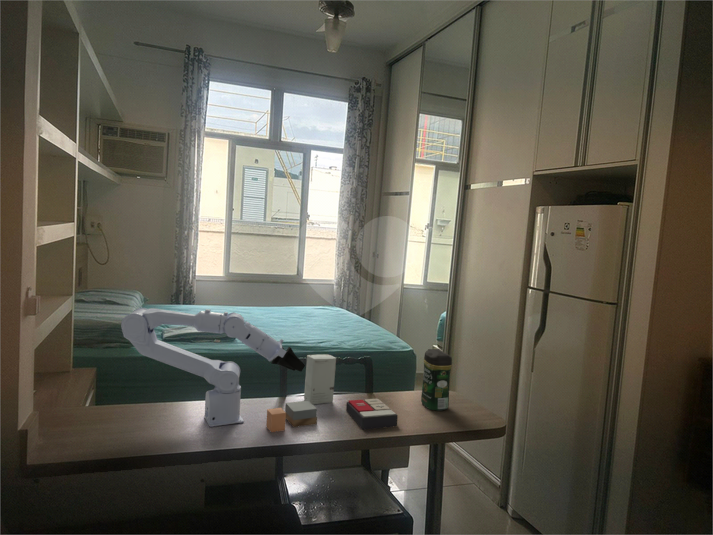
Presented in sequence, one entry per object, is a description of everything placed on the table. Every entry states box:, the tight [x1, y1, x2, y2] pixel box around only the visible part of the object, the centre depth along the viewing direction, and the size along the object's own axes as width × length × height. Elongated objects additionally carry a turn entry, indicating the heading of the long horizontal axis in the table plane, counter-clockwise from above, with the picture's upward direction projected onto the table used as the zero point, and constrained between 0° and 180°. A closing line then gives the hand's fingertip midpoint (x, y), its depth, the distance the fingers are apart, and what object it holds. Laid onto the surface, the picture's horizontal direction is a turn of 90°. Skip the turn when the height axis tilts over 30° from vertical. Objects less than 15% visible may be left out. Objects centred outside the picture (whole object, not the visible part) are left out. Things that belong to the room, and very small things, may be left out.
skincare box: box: [303, 354, 337, 406], centre depth 154 cm, size 8×6×15 cm
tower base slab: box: [286, 413, 318, 428], centre depth 137 cm, size 7×7×2 cm
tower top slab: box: [284, 400, 318, 420], centre depth 137 cm, size 7×7×2 cm
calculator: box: [345, 398, 399, 430], centre depth 143 cm, size 11×4×15 cm
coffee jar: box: [420, 348, 453, 412], centre depth 155 cm, size 10×8×19 cm
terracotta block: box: [265, 407, 287, 433], centre depth 131 cm, size 4×4×5 cm
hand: (299, 368), depth 138 cm, fingers open, 7 cm apart
